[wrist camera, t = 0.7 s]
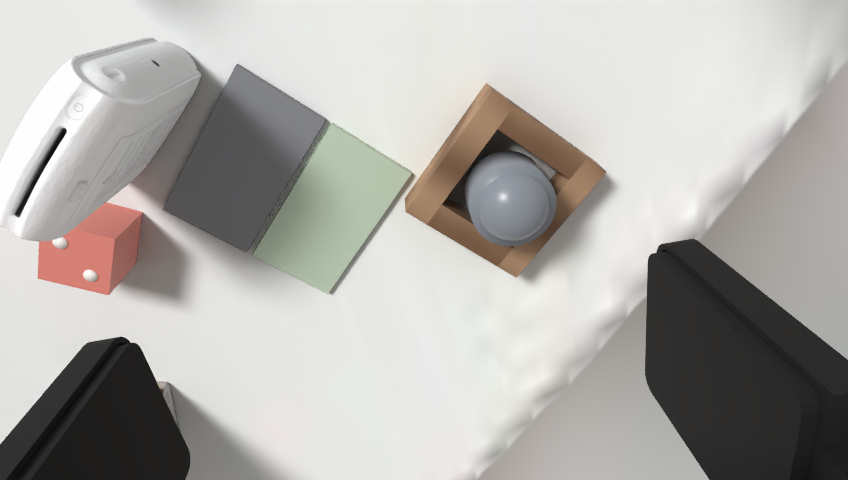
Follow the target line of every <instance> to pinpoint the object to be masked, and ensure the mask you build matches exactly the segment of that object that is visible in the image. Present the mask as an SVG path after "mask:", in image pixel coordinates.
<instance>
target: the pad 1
mask: <svg viewBox="0 0 848 480" xmlns="http://www.w3.org/2000/svg"><path fill="white" fill-rule="evenodd" d="M325 120H326V118H324V117H322V116H321V115H319V114H318V113H316V112H314V111H313V110H311V109H310V108H308V107H306V106H305V105H303V104H301V103H300V102H298V101H297V100H295V99H293V98H292V97H290V96H289V95H287V94H285V93H284V92H282V91H281V90H279V89H277V88H276V87H274V86H273V85H271V84H269V83H268V82H266V81H265V80H263V79H261V78H260V77H258V76H256V75H255V74H253V73H252V72H250V71H248V70H247V69H245V68H244V67H242V66H240V65H239V64H237V65H236V66H235V68H234V70H233V72H232V74H231V76H230V78H229V80H228V82H227V84H226V86H225V88H224V90H223V92H222V94H221V96H220V97H219V99H218V101H217V103H216V105H215V107H214V109H213V111H212V113H211V115H210V117H209V119H208V121H207V123H206V125H205V127H204V129H203V131H202V133H201V135H200V137H199V139H198V141H197V143H196V145H195V147H194V149H193V150H192V152H191V154H190V156H189V158H188V160H187V162H186V164H185V166H184V168H183V170H182V172H181V174H180V176H179V178H178V180H177V182H176V184H175V186H174V188H173V190H172V192H171V194H170V196H169V198H168V200H167V202H166V203H165V205H164V207H163V210H165V211H167V212H169V213H170V214H172V215H174V216H176V217H178V218H180V219H182V220H184V221H186V222H188V223H190V224H192V225H194V226H196V227H198V228H200V229H202V230H204V231H206V232H208V233H209V234H211V235H213V236H215V237H217V238H219V239H221V240H223V241H225V242H227V243H229V244H231V245H233V246H235V247H237V248H239V249H241V250H243V251H245V252H247V250H248V248H249V247H250V245H251V243H252V242H253V240H254V238H255V237H256V235H257V233H258V232H259V230H260V228H261V227H262V225H263V223H264V222H265V220H266V218H267V217H268V215H269V213H270V212H271V210H272V208H273V207H274V205H275V203H276V202H277V200H278V198H279V197H280V195H281V193H282V192H283V190H284V188H285V187H286V185H287V183H288V182H289V180H290V178H291V177H292V175H293V173H294V172H295V170H296V168H297V167H298V165H299V163H300V162H301V160H302V158H303V157H304V155H305V153H306V152H307V150H308V148H309V147H310V145H311V143H312V142H313V140H314V139H315V137H316V135H317V134H318V132H319V130H320V129H321V127H322V125H323V124H324V122H325Z"/></svg>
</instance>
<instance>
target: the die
mask: <svg viewBox="0 0 848 480" xmlns="http://www.w3.org/2000/svg"><path fill="white" fill-rule="evenodd" d="M142 213H143V212H140V211H136V210H132V209H129V208H125V207H121V206H118V205H114V204H110V203H106V202H105V203H104V204H103V205H102V206H100V207H99V208H98V209H97V210H95V211H94V212H93V213H92V214H91V215H89V216H88V217H87V218H86V219H84V220H83V221H82V222H81V223H80V224H78V225H77V226H76V227H75V228H73V229H72V230H71V231H70V232H69V233H67V234H66V235H64V236H63V237H61V238H59V239H55V240H51V241H39V260H38V279H42V280H47V281H51V282H55V283H59V284H63V285H68V286H72V287H76V288H80V289H85V290H89V291H93V292H97V293H101V294H106V295H109V294H110V293H111V292H112V291H113V290H114V288H115V287H116V286H117V285H118V284H119V283H120V282H121V280H122V279H123V278H124V277H125V276H126V275H127V273H128V272H129V271H130V270H131V269H132V268H133V267H134V265H135V264H136V259H137V252H138V244H139V236H140V229H141V221H142Z"/></svg>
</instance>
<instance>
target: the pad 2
mask: <svg viewBox="0 0 848 480" xmlns="http://www.w3.org/2000/svg"><path fill="white" fill-rule="evenodd" d="M411 174H412V173H411V171H409V170H408V169H406V168H404V167H403V166H401V165H399V164H398V163H396V162H395V161H393V160H391V159H390V158H388V157H387V156H385V155H383V154H382V153H380V152H379V151H377V150H375V149H374V148H372V147H371V146H369V145H367V144H366V143H364V142H363V141H361V140H359V139H358V138H356V137H354V136H353V135H351V134H350V133H348V132H346V131H345V130H343V129H342V128H340V127H338V126H337V125H335V124H334V123H332V124H331V126H330V128H329V129H328V131H327V133H326V134H325V136H324V138H323V139H322V141H321V143H320V144H319V146H318V147H317V149H316V151H315V152H314V154H313V156H312V157H311V159H310V161H309V162H308V164H307V166H306V167H305V169H304V171H303V172H302V174H301V175H300V177H299V179H298V180H297V182H296V184H295V185H294V187H293V189H292V190H291V192H290V194H289V195H288V197H287V199H286V200H285V202H284V203H283V205H282V207H281V208H280V210H279V212H278V213H277V215H276V217H275V218H274V220H273V222H272V223H271V225H270V226H269V228H268V230H267V231H266V233H265V235H264V236H263V238H262V240H261V241H260V243H259V245H258V246H257V248H256V250H255V251H254V253H253V255H252V256H254V257H256V258H258V259H260V260H262V261H264V262H266V263H268V264H270V265H272V266H274V267H276V268H278V269H280V270H282V271H284V272H286V273H288V274H289V275H291V276H293V277H295V278H297V279H299V280H301V281H303V282H305V283H307V284H309V285H311V286H313V287H315V288H317V289H319V290H321V291H323V292H325V293H327V294H328V293H329V292H330V290H331V289H332V287H333V286H334V284H335V283H336V282H337V280H338V279H339V277H340V276H341V274H342V273H343V272H344V270H345V269H346V267H347V266H348V264H349V263H350V261H351V260H352V259H353V257H354V256H355V254H356V253H357V251H358V250H359V249H360V247H361V246H362V244H363V243H364V241H365V240H366V238H367V237H368V236H369V234H370V233H371V231H372V230H373V228H374V227H375V226H376V224H377V223H378V221H379V220H380V218H381V217H382V216H383V214H384V213H385V211H386V210H387V208H388V207H389V205H390V204H391V203H392V201H393V200H394V198H395V197H396V195H397V194H398V193H399V191H400V190H401V188H402V187H403V185H404V184H405V182H406V181H407V180H408V178H409V177H410V175H411Z"/></svg>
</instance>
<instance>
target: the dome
mask: <svg viewBox="0 0 848 480" xmlns="http://www.w3.org/2000/svg"><path fill="white" fill-rule="evenodd" d="M464 194H465V200H466V203H467V206H468V209H469V212H470V216H471V219H472V222H473V224H474V226H475V228H476V230H477V231H478V232H479V234H480V235H481V236H482V237H483V238H485V239H486V240H488V241H489V242H491V243H494V244H496V245H500V246H519V245H523V244H526V243H528V242H530V241H532V240H534V239H536V238H537V237H539V236H540V235H541V234H542V233H543V232H544V231H545V230H546V229H547V228H548V226H549V225H550V224H551V222H552V220H553V218H554V215H555V212H556V205H557V200H556V194H555V191H554V188H553V186H552V184H551V183H550V182H549V180H548V179H547V178H546V176H545V175H544V174H543V172H542V171H541V170H540V168H539V167H538V166H537V164H536V163H535V162H534V161H533V160H532V159H531V158H530V157H528V156H526V155H525V154H522V153H520V152H516V151H498V152H494V153H492V154H489V155H487V156H485V157H484V158H482V159H481V160H479V161H478V162H477V163H476V164H475V165H474V167H473V168H472V169H471V171H470V172H469V174H468V176H467V179H466V182H465V187H464Z"/></svg>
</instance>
